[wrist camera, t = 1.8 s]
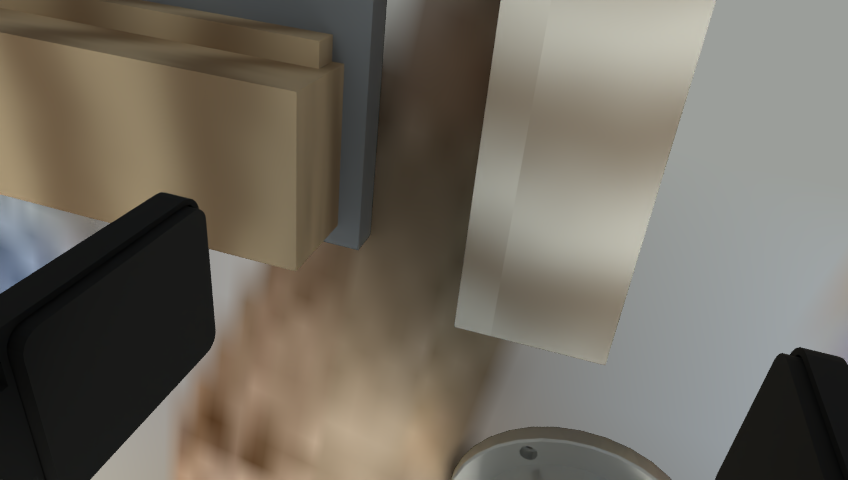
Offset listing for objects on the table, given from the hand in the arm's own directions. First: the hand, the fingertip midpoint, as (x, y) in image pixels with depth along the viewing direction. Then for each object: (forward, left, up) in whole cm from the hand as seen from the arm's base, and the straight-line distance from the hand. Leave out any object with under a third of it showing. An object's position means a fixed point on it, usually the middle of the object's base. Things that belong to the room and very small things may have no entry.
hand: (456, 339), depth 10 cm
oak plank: (+18, +3, -14) cm, 23 cm away
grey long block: (-1, 0, -16) cm, 16 cm away
